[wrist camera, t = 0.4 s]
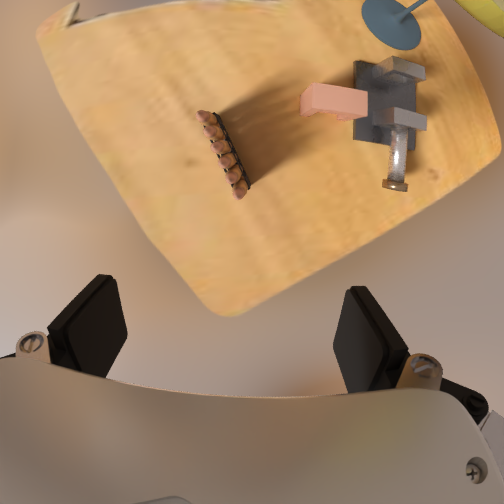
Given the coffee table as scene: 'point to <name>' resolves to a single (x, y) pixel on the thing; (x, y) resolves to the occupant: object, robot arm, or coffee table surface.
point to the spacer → (334, 101)
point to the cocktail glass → (407, 29)
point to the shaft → (397, 159)
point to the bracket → (388, 99)
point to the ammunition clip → (225, 152)
